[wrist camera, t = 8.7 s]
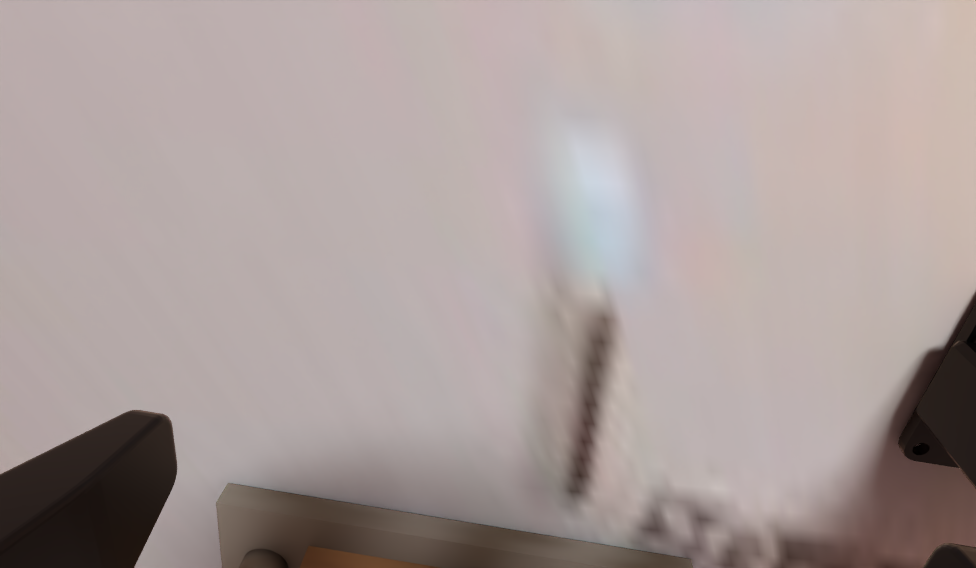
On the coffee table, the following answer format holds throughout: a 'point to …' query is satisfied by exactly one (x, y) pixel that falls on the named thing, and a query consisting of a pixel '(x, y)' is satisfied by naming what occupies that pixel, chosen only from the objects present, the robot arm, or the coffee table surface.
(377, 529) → the stacked plates with bolts
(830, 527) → the coffee table surface
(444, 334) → the coffee table surface
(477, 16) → the coffee table surface
